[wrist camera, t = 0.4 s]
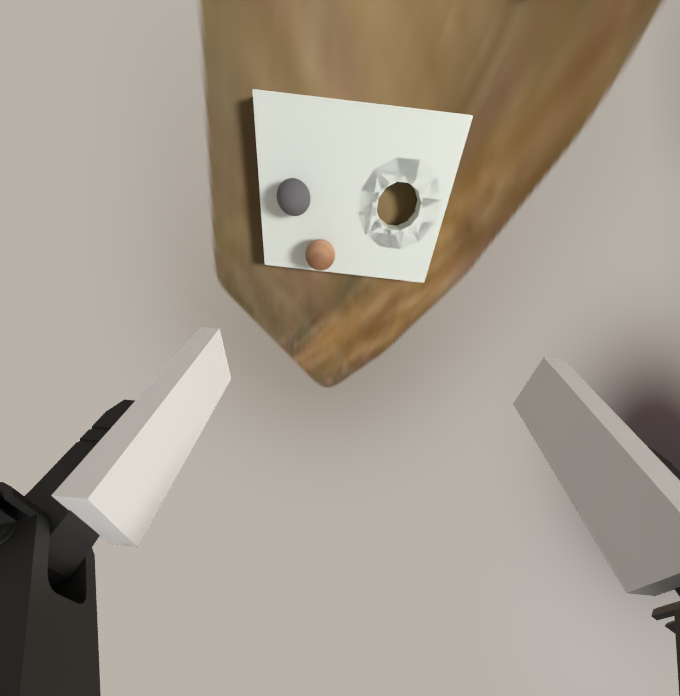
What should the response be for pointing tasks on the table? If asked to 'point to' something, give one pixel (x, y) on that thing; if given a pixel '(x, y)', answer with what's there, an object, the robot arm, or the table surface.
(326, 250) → the wood ball
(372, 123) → the plate
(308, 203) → the ball
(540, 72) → the table surface
